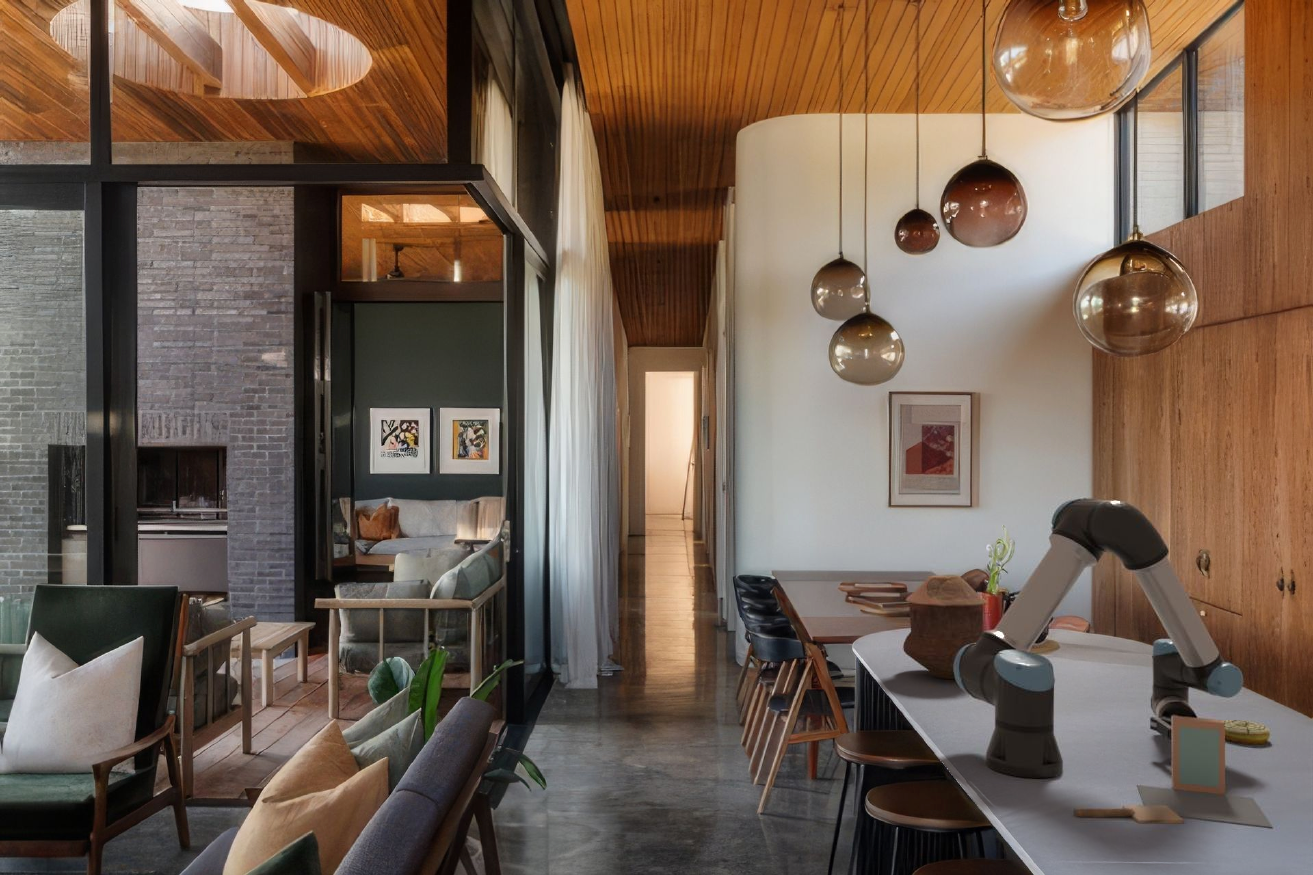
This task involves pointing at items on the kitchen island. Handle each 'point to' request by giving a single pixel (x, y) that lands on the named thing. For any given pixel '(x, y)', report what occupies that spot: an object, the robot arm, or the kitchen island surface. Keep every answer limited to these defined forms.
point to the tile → (1198, 754)
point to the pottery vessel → (943, 622)
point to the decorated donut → (1246, 732)
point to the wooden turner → (1135, 814)
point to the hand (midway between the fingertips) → (1195, 746)
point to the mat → (1206, 806)
